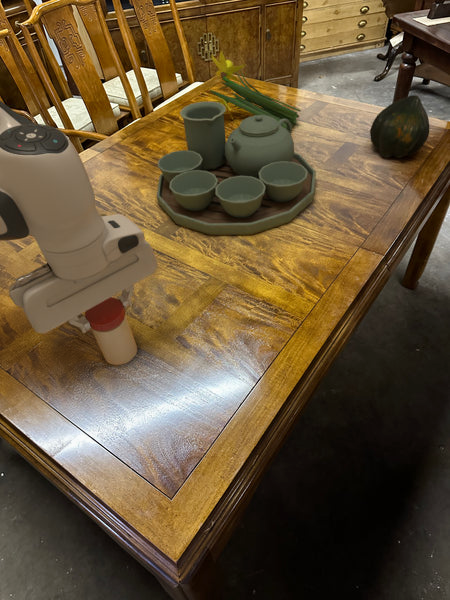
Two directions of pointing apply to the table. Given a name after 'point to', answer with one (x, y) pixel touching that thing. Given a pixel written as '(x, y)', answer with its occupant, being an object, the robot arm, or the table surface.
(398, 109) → the squash
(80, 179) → the robot arm
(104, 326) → the jam jar lid
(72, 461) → the table surface
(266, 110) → the daffodil flowers
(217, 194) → the tea set
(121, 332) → the jam jar
